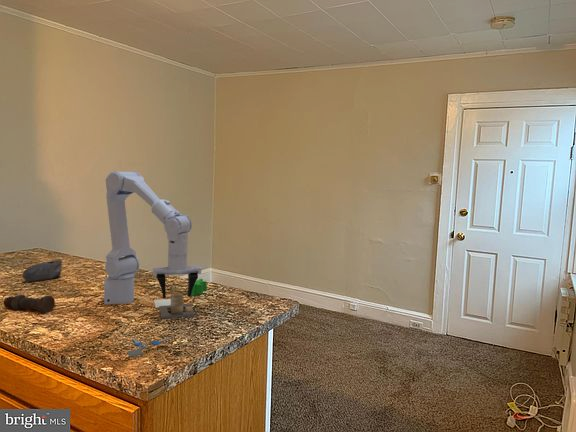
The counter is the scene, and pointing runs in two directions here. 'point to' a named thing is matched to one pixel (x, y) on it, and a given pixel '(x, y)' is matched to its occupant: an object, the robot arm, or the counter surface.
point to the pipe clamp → (199, 287)
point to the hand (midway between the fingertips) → (176, 296)
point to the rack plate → (165, 313)
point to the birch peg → (176, 303)
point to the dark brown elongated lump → (31, 303)
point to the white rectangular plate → (162, 302)
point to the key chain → (138, 351)
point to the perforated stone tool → (43, 271)
